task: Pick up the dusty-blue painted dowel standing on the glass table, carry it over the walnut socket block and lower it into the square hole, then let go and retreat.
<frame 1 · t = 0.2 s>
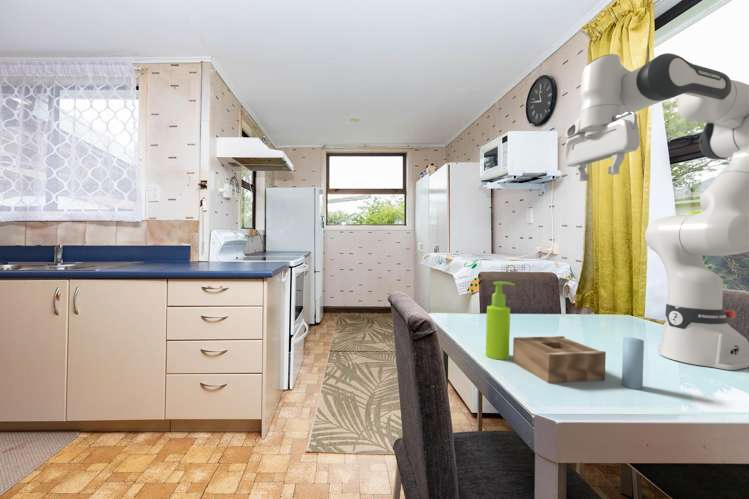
hand: (598, 177, 92), 47 cm above the table, fingers open, 8 cm apart
socket block: (555, 370, 87), on the table
soap dispenser: (499, 357, 98), on the table
dowel: (632, 386, 78), on the table
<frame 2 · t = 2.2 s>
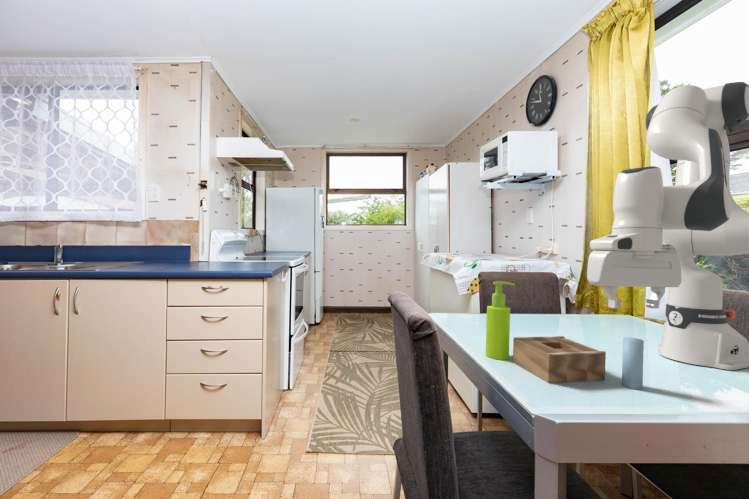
hand: (633, 307, 78), 17 cm above the table, fingers open, 8 cm apart
nothing on the table moved.
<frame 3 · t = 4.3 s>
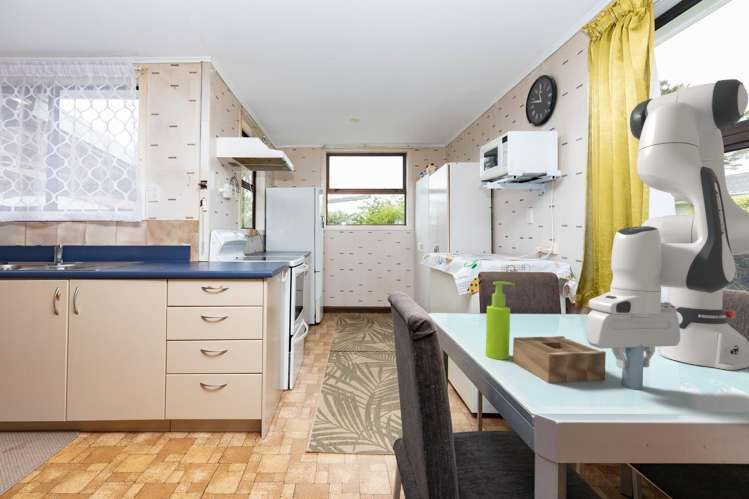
hand: (632, 367, 78), 4 cm above the table, fingers closed on dowel, 4 cm apart
dowel: (632, 386, 78), on the table, touching gripper
everything else where it was.
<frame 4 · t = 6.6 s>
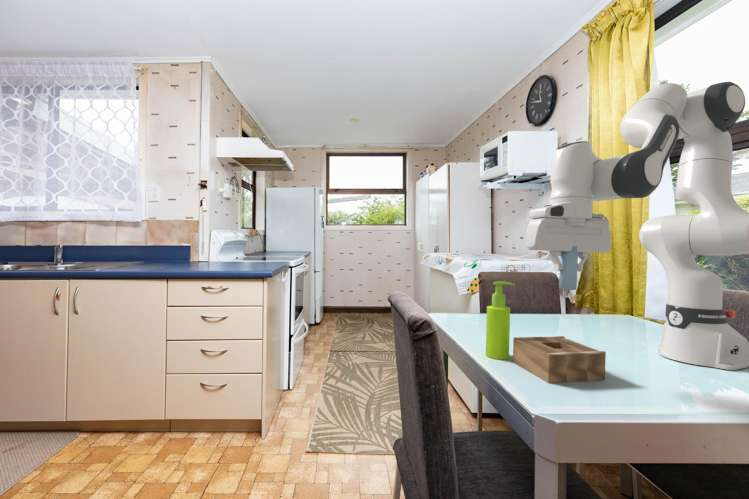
hand: (567, 271, 85), 24 cm above the table, fingers closed on dowel, 4 cm apart
dowel: (567, 289, 85), point 20 cm above the table, touching gripper
everything else where it was.
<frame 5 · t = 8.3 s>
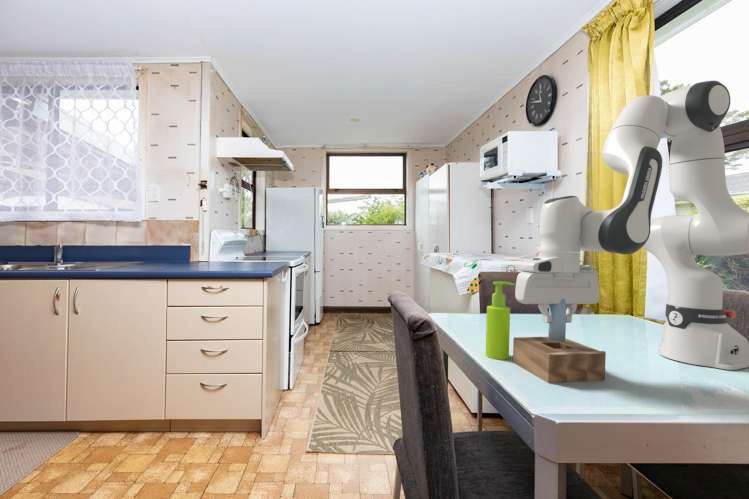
hand: (556, 322, 87), 11 cm above the table, fingers closed on dowel, 4 cm apart
dowel: (556, 339, 87), point 7 cm above the table, touching gripper
everything else where it was.
when the fingers open (8 cm above the table, at t = 9.2 s): dowel drops 4 cm, resting in socket block.
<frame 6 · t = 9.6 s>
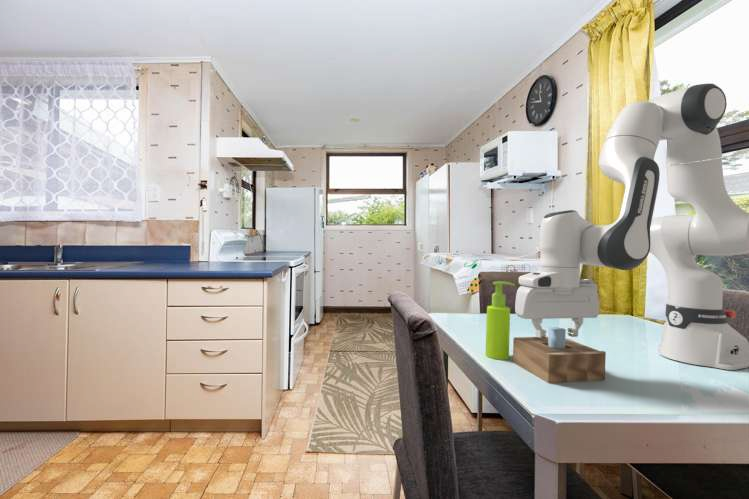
hand: (556, 336, 87), 8 cm above the table, fingers open, 7 cm apart
dowel: (555, 370, 87), resting in socket block
everything else where it was.
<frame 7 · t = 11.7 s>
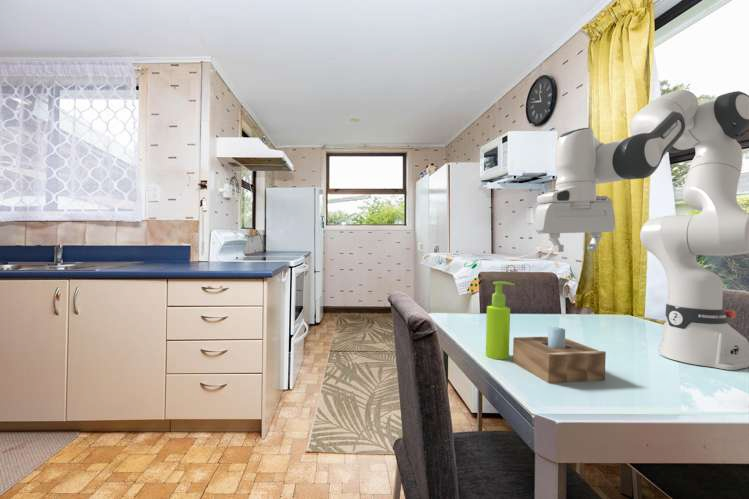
hand: (575, 251, 91), 28 cm above the table, fingers open, 8 cm apart
nothing on the table moved.
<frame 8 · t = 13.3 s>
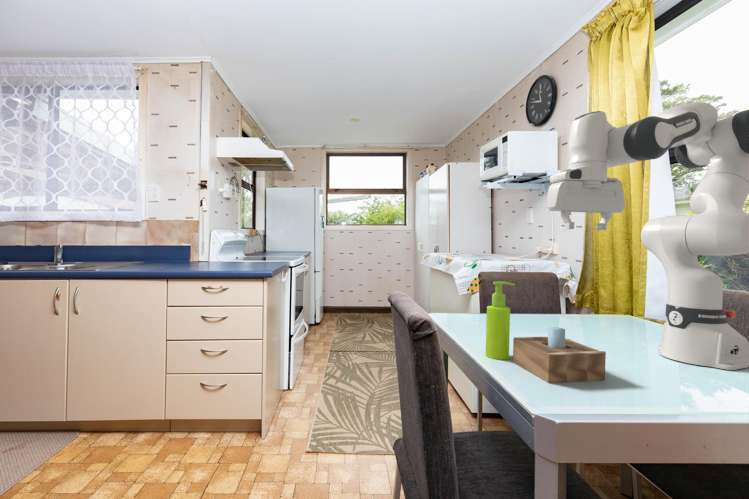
hand: (585, 229, 95), 34 cm above the table, fingers open, 8 cm apart
nothing on the table moved.
at the end: dowel 0.2 cm off-centre on the socket block, point 0.0 cm above the socket block's base; dowel tilted 0°; the gripper is holding nothing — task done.
